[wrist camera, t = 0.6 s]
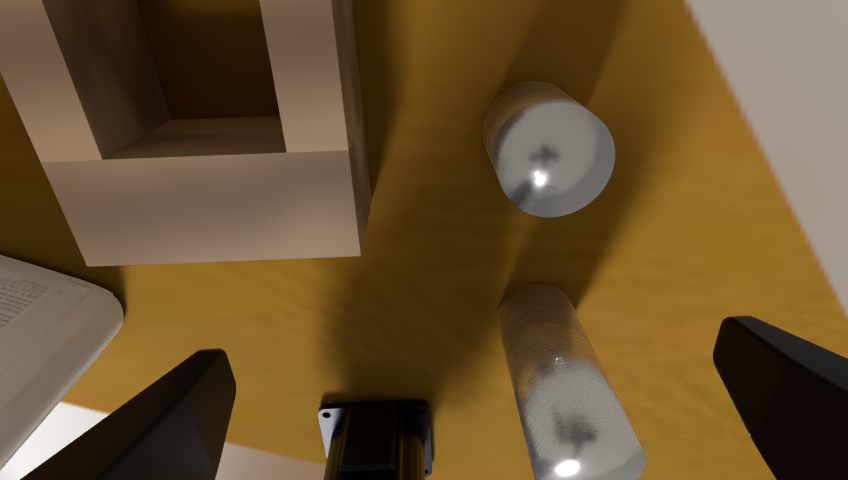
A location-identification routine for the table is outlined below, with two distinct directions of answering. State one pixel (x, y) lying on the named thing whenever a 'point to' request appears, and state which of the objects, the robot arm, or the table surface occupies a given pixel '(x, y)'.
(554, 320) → the silver upright cylinder
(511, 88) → the short pin
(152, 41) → the table surface
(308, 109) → the hole board
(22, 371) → the white rounded printed block
